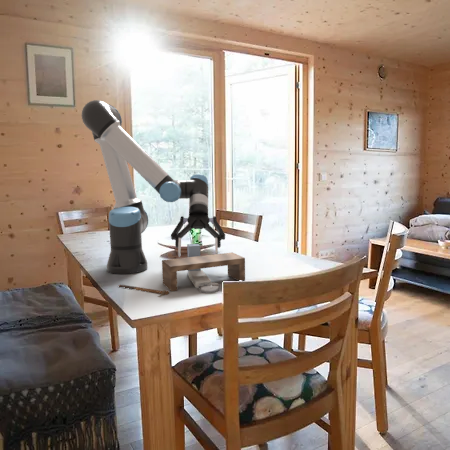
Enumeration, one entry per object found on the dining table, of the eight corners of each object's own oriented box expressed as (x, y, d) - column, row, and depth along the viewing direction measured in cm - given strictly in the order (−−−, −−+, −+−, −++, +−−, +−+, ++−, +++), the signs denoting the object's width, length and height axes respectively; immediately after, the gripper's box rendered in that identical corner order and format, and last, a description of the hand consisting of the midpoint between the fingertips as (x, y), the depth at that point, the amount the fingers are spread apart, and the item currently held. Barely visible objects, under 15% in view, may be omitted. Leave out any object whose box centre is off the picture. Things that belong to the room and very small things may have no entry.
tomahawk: (106, 295, 134) (106, 291, 134) (122, 286, 140) (121, 283, 140) (155, 303, 125) (154, 299, 125) (169, 294, 131) (169, 290, 131)
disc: (206, 294, 130) (205, 289, 129) (194, 290, 135) (194, 284, 135) (222, 290, 133) (222, 285, 133) (211, 286, 139) (211, 281, 138)
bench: (171, 291, 133) (170, 266, 132) (162, 283, 142) (161, 260, 141) (245, 281, 143) (244, 257, 142) (232, 274, 152) (232, 252, 151)
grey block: (195, 287, 136) (195, 254, 135) (186, 273, 153) (185, 244, 152) (210, 286, 137) (210, 253, 136) (200, 272, 155) (199, 243, 153)
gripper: (229, 213, 169) (231, 259, 157) (167, 213, 168) (164, 260, 156) (230, 202, 163) (232, 249, 151) (165, 202, 162) (162, 249, 150)
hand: (197, 254), depth 154 cm, fingers open, 13 cm apart
